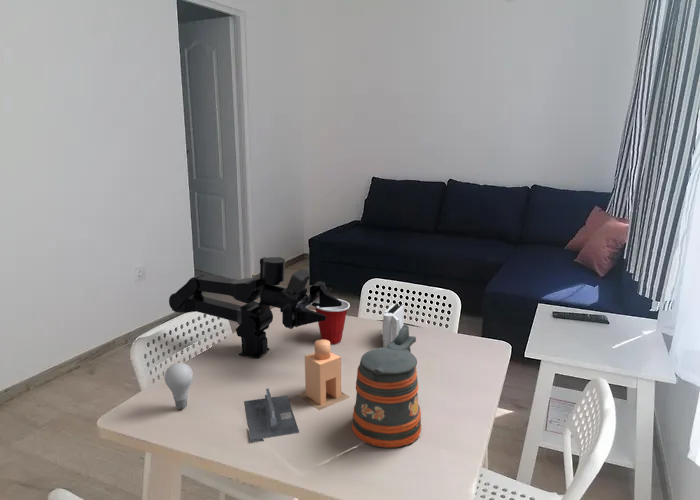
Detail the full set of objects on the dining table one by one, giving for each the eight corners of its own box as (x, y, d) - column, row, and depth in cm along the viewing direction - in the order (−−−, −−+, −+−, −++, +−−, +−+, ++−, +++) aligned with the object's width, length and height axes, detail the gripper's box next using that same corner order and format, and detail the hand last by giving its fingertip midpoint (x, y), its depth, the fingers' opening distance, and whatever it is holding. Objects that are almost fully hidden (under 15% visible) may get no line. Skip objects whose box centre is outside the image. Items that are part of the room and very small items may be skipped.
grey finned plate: (244, 403, 122) (243, 383, 121) (287, 397, 125) (286, 377, 124) (250, 442, 107) (249, 420, 106) (299, 434, 110) (298, 412, 109)
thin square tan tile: (297, 396, 125) (296, 394, 125) (327, 384, 131) (327, 382, 131) (319, 411, 118) (319, 409, 118) (350, 398, 124) (350, 396, 124)
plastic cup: (350, 348, 152) (349, 309, 149) (312, 348, 152) (311, 309, 149) (350, 333, 163) (350, 296, 160) (315, 333, 163) (314, 296, 160)
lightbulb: (170, 418, 116) (165, 372, 114) (165, 405, 122) (161, 361, 119) (198, 411, 119) (194, 366, 116) (192, 399, 124) (189, 356, 122)
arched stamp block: (305, 395, 125) (304, 341, 122) (326, 387, 129) (325, 335, 125) (320, 405, 120) (319, 350, 117) (341, 396, 124) (340, 343, 121)
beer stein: (372, 396, 125) (373, 317, 120) (433, 408, 120) (436, 325, 115) (341, 439, 108) (340, 349, 103) (410, 456, 103) (413, 361, 98)
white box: (399, 353, 148) (399, 320, 146) (380, 352, 149) (380, 319, 147) (404, 334, 162) (404, 303, 159) (386, 333, 163) (386, 302, 160)
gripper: (262, 282, 131) (317, 295, 125) (299, 259, 147) (350, 270, 141) (262, 322, 134) (316, 337, 129) (299, 295, 150) (348, 307, 145)
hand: (334, 310), depth 136 cm, fingers open, 9 cm apart
